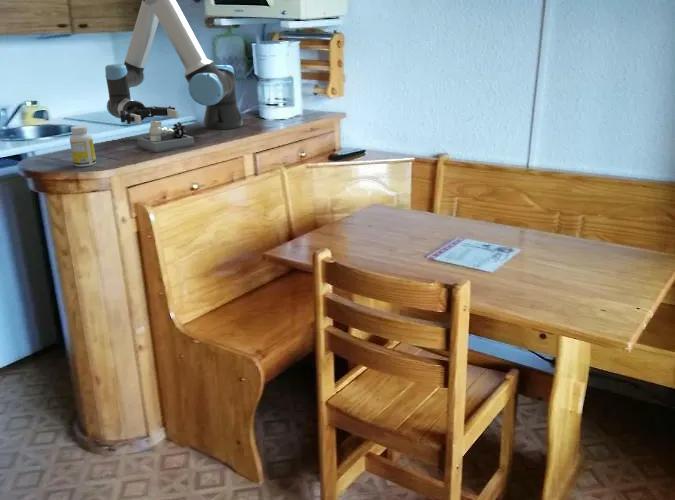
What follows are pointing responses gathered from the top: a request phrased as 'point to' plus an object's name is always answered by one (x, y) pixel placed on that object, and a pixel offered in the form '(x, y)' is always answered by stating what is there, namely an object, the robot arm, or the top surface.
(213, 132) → the top surface
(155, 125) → the valve
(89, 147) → the pill bottle
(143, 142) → the parts tray
